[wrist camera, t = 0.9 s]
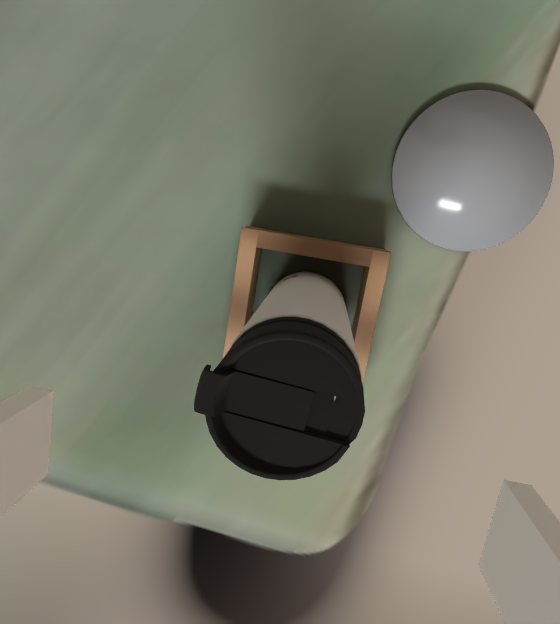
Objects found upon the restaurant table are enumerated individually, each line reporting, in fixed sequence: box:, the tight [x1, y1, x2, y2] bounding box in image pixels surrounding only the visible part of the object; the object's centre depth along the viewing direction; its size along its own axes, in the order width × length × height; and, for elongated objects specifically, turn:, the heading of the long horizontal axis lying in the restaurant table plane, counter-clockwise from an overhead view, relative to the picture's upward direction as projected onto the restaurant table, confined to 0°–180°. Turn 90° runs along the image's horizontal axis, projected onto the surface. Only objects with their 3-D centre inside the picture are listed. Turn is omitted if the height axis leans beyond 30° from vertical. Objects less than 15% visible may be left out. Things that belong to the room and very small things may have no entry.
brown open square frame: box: [223, 226, 391, 385], centre depth 35 cm, size 11×10×4 cm
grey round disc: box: [392, 90, 554, 251], centre depth 33 cm, size 11×11×1 cm
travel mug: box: [194, 271, 365, 480], centre depth 27 cm, size 6×7×20 cm
